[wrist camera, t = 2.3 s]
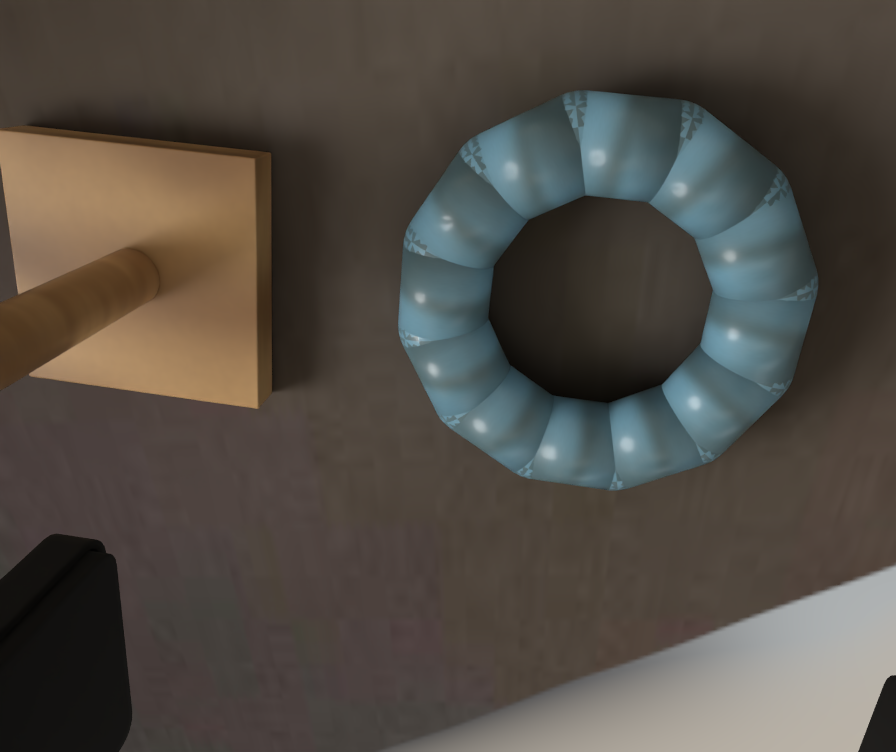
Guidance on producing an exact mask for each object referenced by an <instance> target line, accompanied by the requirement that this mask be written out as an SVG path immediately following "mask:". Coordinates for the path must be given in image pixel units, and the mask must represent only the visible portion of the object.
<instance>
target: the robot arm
mask: <svg viewBox="0 0 896 752" xmlns="http://www.w3.org/2000/svg"><path fill="white" fill-rule="evenodd" d="M131 721H132V705H131V696H130V686H129V677H128V667H127V658H126V648H125V639H124V629H123V620H122V610H121V601H120V591H119V582H118V572H117V564H116V559H115V558H114V556H113V555H111V554H108V553H106V551H105V547H104V545H103V544H102V542H101V541H98V540H95V539H88V538H81V537H75V536H68V535H62V534H53V535H50V536H48V537H47V538H46V539H44V540H43V541H42V542H41V543H40V544H39V545H38V546H37V547H35V548H34V549H33V550H32V551H31V552H30V553H29V554H28V555H27V556H26V557H25V558H24V559H23V560H21V561H20V562H19V563H18V564H17V565H16V566H15V567H14V568H13V569H12V570H11V571H10V572H8V573H7V574H6V575H5V576H4V577H3V578H2V579H1V580H0V752H119V750H120V749H121V747H122V746H123V744H124V742H125V740H126V738H127V735H128V733H129V730H130V726H131ZM858 752H896V675H894V676H890V677H889V678H887V680H886V682H885V684H884V686H883V688H882V691H881V694H880V697H879V699H878V702H877V704H876V707H875V709H874V712H873V715H872V717H871V720H870V722H869V725H868V728H867V730H866V733H865V735H864V738H863V741H862V744H861V746H860V749H859V751H858Z"/></svg>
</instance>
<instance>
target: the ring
mask: <svg viewBox="0 0 896 752" xmlns="http://www.w3.org/2000/svg"><path fill="white" fill-rule="evenodd" d="M585 195H587V196H596V197H605V198H614V199H623V200H632V201H641V202H648V203H649V204H651V205H652V206H653V207H655V208H656V209H657V210H659V211H660V212H661V213H662V214H664V215H665V216H666V217H668V218H669V219H670V220H672V221H673V222H674V223H676V224H677V225H678V226H679V227H681V228H682V229H683V230H685V231H686V232H687V233H689V234H690V235H691V236H692V237H694V238H695V241H696V244H697V247H698V249H699V252H700V255H701V258H702V261H703V263H704V266H705V269H706V272H707V275H708V277H709V280H710V283H711V286H712V289H713V292H712V296H711V300H710V305H709V309H708V313H707V318H706V322H705V327H704V331H703V335H702V340H701V343H700V344H699V346H698V347H697V348H696V349H695V350H694V351H693V352H692V353H691V354H690V355H689V356H688V357H687V358H686V359H685V360H684V362H683V363H682V364H681V365H680V366H679V367H678V368H677V369H676V370H675V371H674V372H673V373H672V374H671V375H670V377H669V378H668V379H667V380H666V381H665V382H664V383H663V384H662V385H659V386H656V387H653V388H650V389H647V390H644V391H641V392H639V393H636V394H633V395H630V396H627V397H624V398H621V399H618V400H616V401H613V402H610V403H604V402H597V401H589V400H582V399H575V398H567V397H560V396H553V395H551V394H550V393H548V392H547V391H546V390H544V389H543V388H542V387H540V386H539V385H537V384H536V383H535V382H533V381H532V380H530V379H529V378H528V377H526V376H525V375H523V374H522V373H521V372H519V371H518V370H516V369H515V368H514V367H512V366H511V365H509V362H508V360H507V358H506V356H505V354H504V351H503V349H502V347H501V345H500V343H499V341H498V338H497V336H496V334H495V332H494V330H493V327H492V325H491V323H490V321H489V319H488V314H489V305H490V296H491V287H492V279H493V270H494V265H495V263H496V262H497V261H498V260H499V258H500V257H501V256H502V254H503V253H504V252H505V250H506V249H507V248H508V246H509V245H510V244H511V242H512V241H513V240H514V238H515V237H516V236H517V234H518V233H519V232H520V230H521V229H522V228H523V226H524V225H525V224H526V223H527V221H528V220H529V219H532V218H534V217H536V216H538V215H541V214H543V213H545V212H548V211H550V210H552V209H555V208H557V207H559V206H562V205H564V204H566V203H569V202H571V201H573V200H576V199H578V198H580V197H583V196H585ZM817 292H818V274H817V270H816V266H815V263H814V260H813V257H812V254H811V250H810V247H809V244H808V241H807V238H806V234H805V231H804V228H803V225H802V221H801V218H800V215H799V212H798V209H797V205H796V202H795V199H794V196H793V193H792V189H791V186H790V184H789V181H788V180H787V178H786V177H785V175H784V174H783V172H782V171H781V170H780V169H779V168H778V167H777V166H776V165H775V164H773V163H772V162H771V161H769V160H768V159H767V158H766V157H764V156H763V155H762V154H761V153H759V152H758V151H757V150H756V149H754V148H753V147H752V146H751V145H749V144H748V143H747V142H746V141H744V140H743V139H742V138H740V137H739V136H738V135H737V134H735V133H734V132H733V131H732V130H730V129H729V128H728V127H727V126H725V125H724V124H723V123H722V122H720V121H719V120H718V119H716V118H715V117H714V116H713V115H711V114H710V113H709V112H708V111H706V110H705V109H704V108H702V107H701V106H699V105H697V104H695V103H692V102H690V101H686V100H680V99H670V98H660V97H650V96H640V95H630V94H620V93H609V92H599V91H589V90H577V91H571V92H568V93H565V94H563V95H560V96H558V97H556V98H554V99H552V100H550V101H547V102H545V103H543V104H541V105H539V106H537V107H535V108H533V109H530V110H528V111H526V112H524V113H522V114H520V115H518V116H516V117H513V118H511V119H509V120H507V121H505V122H503V123H501V124H499V125H497V126H494V127H492V128H490V129H488V130H486V131H484V132H482V133H480V134H478V135H476V136H474V137H473V138H471V139H470V140H469V141H468V142H466V143H465V144H464V145H463V147H462V148H461V149H460V150H459V152H458V153H457V155H456V156H455V158H454V159H453V161H452V162H451V163H450V165H449V166H448V168H447V169H446V171H445V172H444V174H443V175H442V177H441V178H440V180H439V181H438V182H437V184H436V185H435V187H434V188H433V190H432V191H431V193H430V194H429V196H428V197H427V199H426V200H425V201H424V203H423V204H422V206H421V207H420V209H419V210H418V212H417V213H416V215H415V216H414V218H413V219H412V221H411V222H410V224H409V226H408V228H407V230H406V233H405V237H404V243H403V257H402V272H401V288H400V303H399V319H398V330H399V335H400V339H401V342H402V344H403V346H404V348H405V350H406V352H407V354H408V356H409V358H410V360H411V362H412V364H413V366H414V368H415V370H416V372H417V374H418V376H419V378H420V380H421V382H422V384H423V386H424V388H425V390H426V392H427V394H428V396H429V398H430V400H431V402H432V404H433V406H434V408H435V410H436V412H437V414H438V416H439V417H440V419H441V420H442V421H443V422H444V423H445V424H446V425H447V426H448V427H449V428H451V429H452V430H454V431H455V432H456V433H458V434H459V435H461V436H462V437H464V438H465V439H467V440H468V441H469V442H471V443H472V444H474V445H475V446H477V447H478V448H479V449H481V450H482V451H484V452H485V453H487V454H488V455H490V456H491V457H492V458H494V459H495V460H497V461H498V462H500V463H501V464H502V465H504V466H505V467H507V468H508V469H510V470H511V471H513V472H514V473H516V474H518V475H520V476H522V477H526V478H529V479H535V480H542V481H549V482H556V483H563V484H570V485H576V486H583V487H590V488H597V489H604V490H623V489H628V488H631V487H634V486H637V485H641V484H644V483H647V482H650V481H653V480H657V479H660V478H663V477H666V476H669V475H672V474H676V473H679V472H682V471H685V470H688V469H692V468H695V467H698V466H701V465H704V464H707V463H709V462H711V461H713V460H715V459H716V458H718V457H719V456H720V455H721V454H723V453H724V452H725V451H726V450H727V449H728V448H729V447H730V446H731V445H732V444H733V443H734V442H735V441H736V440H737V439H738V438H739V437H740V436H741V435H742V434H743V433H744V432H745V431H746V430H747V429H748V428H749V427H750V426H751V425H752V424H754V423H755V422H756V421H757V420H758V419H759V418H760V417H761V416H762V415H763V414H764V413H765V412H766V411H767V410H768V409H769V408H770V407H771V406H772V405H773V404H774V403H775V402H776V401H777V400H778V399H779V398H780V397H781V396H782V395H783V394H784V393H785V392H786V390H787V389H788V388H789V386H790V384H791V382H792V380H793V377H794V373H795V370H796V366H797V363H798V359H799V356H800V352H801V349H802V345H803V342H804V338H805V335H806V331H807V328H808V324H809V321H810V317H811V314H812V310H813V307H814V303H815V300H816V296H817Z"/></svg>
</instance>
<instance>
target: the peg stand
mask: <svg viewBox="0 0 896 752" xmlns="http://www.w3.org/2000/svg"><path fill="white" fill-rule="evenodd" d="M0 166H1V173H2V180H3V188H4V195H5V202H6V209H7V217H8V224H9V231H10V238H11V246H12V253H13V260H14V267H15V274H16V282H17V289H18V295H16V296H14V297H12V298H10V299H7V300H5V301H3V302H1V303H0V391H1V390H3V389H4V388H6V387H8V386H9V385H11V384H13V383H14V382H16V381H18V380H19V379H21V378H23V377H24V376H26V375H28V374H29V375H30V376H32V377H39V378H46V379H53V380H60V381H67V382H74V383H81V384H88V385H95V386H102V387H109V388H116V389H123V390H130V391H137V392H144V393H151V394H158V395H165V396H172V397H179V398H186V399H193V400H200V401H207V402H215V403H222V404H229V405H236V406H243V407H250V408H257V409H258V408H259V407H260V406H261V405H262V404H263V403H264V401H265V400H266V399H267V398H268V397H269V396H270V394H271V393H272V253H271V153H270V152H261V151H252V150H243V149H234V148H225V147H216V146H207V145H198V144H189V143H180V142H170V141H161V140H152V139H143V138H134V137H125V136H116V135H107V134H98V133H89V132H80V131H71V130H62V129H53V128H43V127H34V126H25V125H23V126H15V127H8V128H1V129H0Z"/></svg>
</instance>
